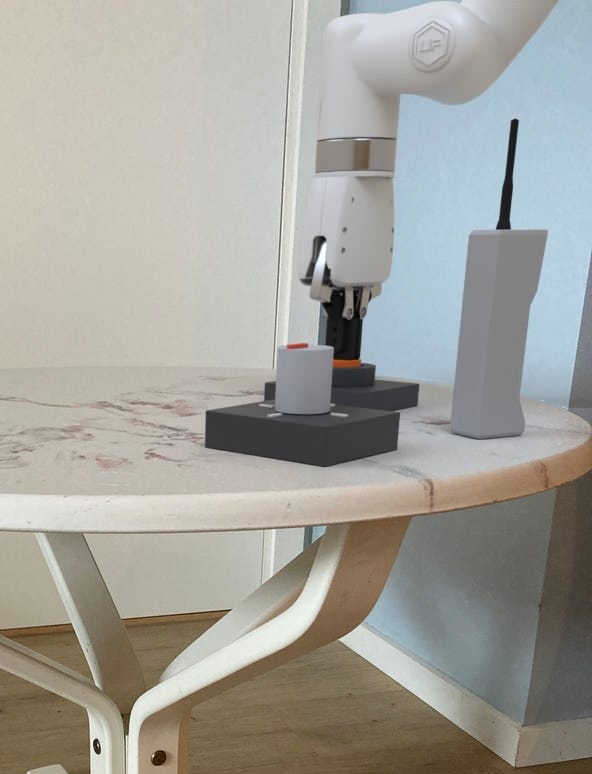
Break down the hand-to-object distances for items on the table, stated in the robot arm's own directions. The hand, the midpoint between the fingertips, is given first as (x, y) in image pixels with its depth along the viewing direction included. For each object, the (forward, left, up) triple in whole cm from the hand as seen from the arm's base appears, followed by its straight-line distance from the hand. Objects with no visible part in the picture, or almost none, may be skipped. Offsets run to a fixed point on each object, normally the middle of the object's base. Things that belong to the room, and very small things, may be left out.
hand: (342, 358), depth 112 cm
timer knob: (-12, +23, -2) cm, 26 cm away
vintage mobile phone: (-20, +6, -5) cm, 21 cm away
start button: (0, 0, -2) cm, 2 cm away
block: (0, 0, -5) cm, 5 cm away
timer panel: (-12, +23, -5) cm, 26 cm away
